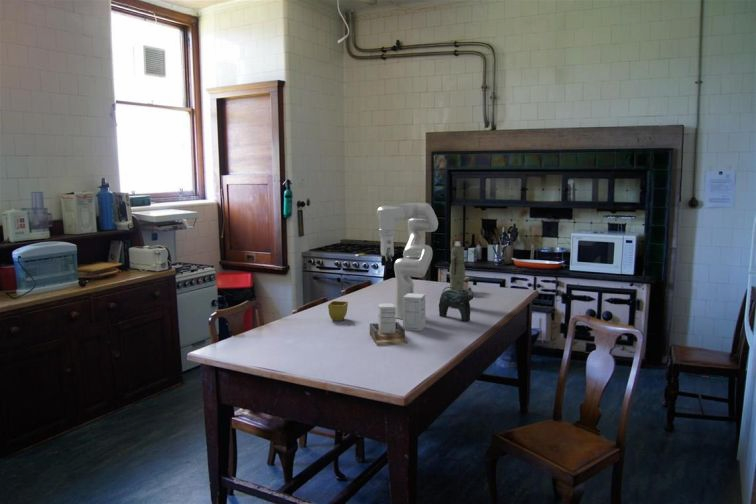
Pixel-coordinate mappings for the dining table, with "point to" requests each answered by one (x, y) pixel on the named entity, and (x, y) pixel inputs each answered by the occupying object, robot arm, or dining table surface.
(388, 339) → the brown open box
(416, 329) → the supplement box
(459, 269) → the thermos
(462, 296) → the dark green animal figurine
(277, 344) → the dining table surface
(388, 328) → the supplement box
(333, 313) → the flower pot
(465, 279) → the architectural model
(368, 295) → the dining table surface
